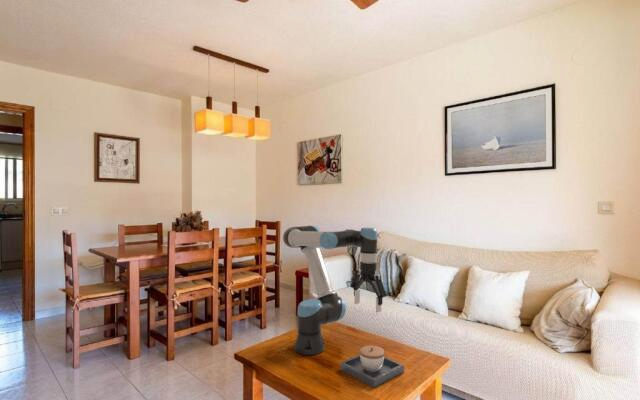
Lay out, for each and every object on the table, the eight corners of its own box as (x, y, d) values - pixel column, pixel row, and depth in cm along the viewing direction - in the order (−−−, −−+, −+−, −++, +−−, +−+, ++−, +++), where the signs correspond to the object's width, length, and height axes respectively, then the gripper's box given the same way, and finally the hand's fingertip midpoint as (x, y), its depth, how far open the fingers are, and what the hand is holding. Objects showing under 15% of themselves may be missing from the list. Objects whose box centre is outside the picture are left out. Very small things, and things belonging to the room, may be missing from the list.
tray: (340, 369, 153) (340, 362, 153) (370, 356, 166) (370, 350, 166) (374, 387, 138) (374, 380, 138) (403, 372, 151) (403, 365, 151)
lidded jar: (389, 371, 150) (389, 349, 149) (368, 376, 145) (368, 354, 145) (375, 360, 159) (375, 340, 159) (355, 365, 155) (355, 344, 155)
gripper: (395, 265, 152) (394, 313, 153) (355, 256, 172) (354, 299, 173) (383, 267, 148) (382, 317, 148) (343, 258, 167) (343, 301, 168)
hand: (367, 307), depth 161 cm, fingers open, 13 cm apart
